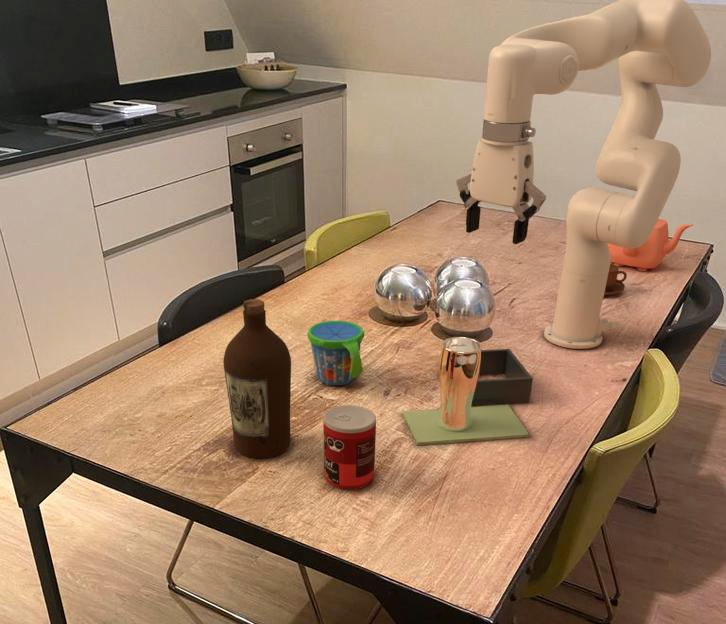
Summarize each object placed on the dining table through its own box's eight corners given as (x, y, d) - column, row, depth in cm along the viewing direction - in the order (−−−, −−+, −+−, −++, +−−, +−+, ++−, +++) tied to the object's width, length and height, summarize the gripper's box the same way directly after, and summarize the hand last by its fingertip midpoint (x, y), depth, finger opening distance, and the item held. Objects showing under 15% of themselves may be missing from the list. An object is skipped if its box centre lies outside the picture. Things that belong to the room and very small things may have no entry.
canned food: (322, 464, 124) (322, 405, 118) (371, 463, 124) (373, 404, 118) (325, 491, 118) (324, 430, 111) (376, 490, 118) (378, 428, 112)
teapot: (681, 273, 208) (695, 221, 200) (620, 276, 204) (632, 224, 196) (646, 252, 222) (658, 203, 215) (589, 255, 219) (598, 206, 211)
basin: (506, 371, 154) (509, 348, 151) (529, 402, 143) (533, 378, 141) (442, 375, 152) (444, 352, 149) (460, 407, 141) (463, 382, 138)
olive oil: (249, 423, 134) (239, 286, 120) (304, 436, 131) (300, 296, 117) (219, 453, 126) (204, 309, 112) (276, 466, 123) (268, 320, 109)
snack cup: (296, 367, 154) (294, 319, 148) (343, 358, 158) (343, 312, 152) (327, 400, 142) (327, 350, 136) (377, 390, 146) (379, 341, 140)
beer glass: (472, 435, 132) (481, 355, 123) (432, 430, 133) (438, 350, 124) (475, 416, 137) (484, 338, 129) (437, 411, 138) (443, 334, 130)
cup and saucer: (605, 281, 201) (610, 257, 198) (632, 296, 192) (638, 272, 188) (566, 285, 198) (570, 261, 194) (591, 301, 188) (596, 276, 185)
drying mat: (507, 407, 142) (508, 404, 141) (528, 437, 133) (529, 434, 132) (403, 414, 138) (403, 411, 138) (416, 445, 130) (417, 442, 129)
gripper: (564, 135, 122) (549, 241, 132) (474, 122, 132) (466, 222, 142) (540, 142, 118) (526, 252, 128) (449, 128, 127) (442, 231, 137)
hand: (495, 236), depth 135 cm, fingers open, 9 cm apart
